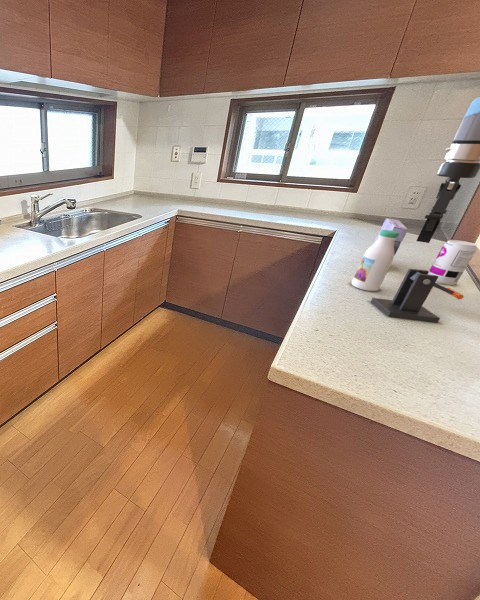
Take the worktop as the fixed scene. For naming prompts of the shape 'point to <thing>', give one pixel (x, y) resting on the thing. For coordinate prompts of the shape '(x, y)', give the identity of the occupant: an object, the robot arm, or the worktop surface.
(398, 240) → the cake pan box
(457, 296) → the switch lever
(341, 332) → the worktop surface
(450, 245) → the supplement can
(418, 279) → the switch base
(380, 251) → the milk bottle
